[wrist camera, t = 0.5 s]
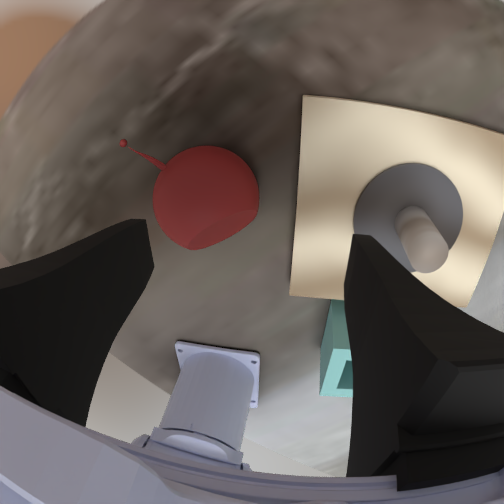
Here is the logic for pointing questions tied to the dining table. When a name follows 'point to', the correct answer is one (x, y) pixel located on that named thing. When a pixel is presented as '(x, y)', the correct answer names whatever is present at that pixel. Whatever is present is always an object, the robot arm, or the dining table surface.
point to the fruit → (203, 195)
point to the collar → (336, 354)
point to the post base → (395, 195)
